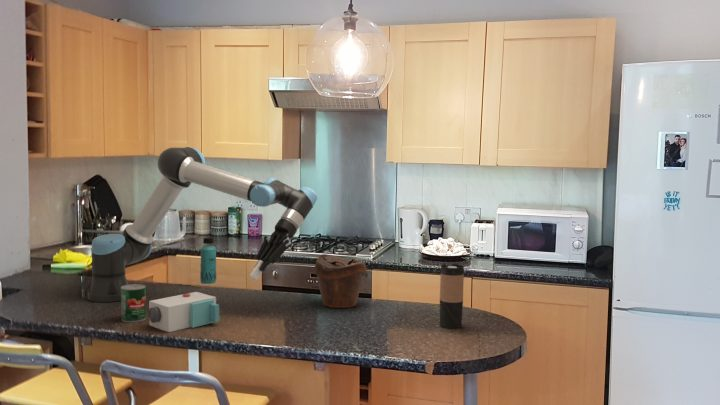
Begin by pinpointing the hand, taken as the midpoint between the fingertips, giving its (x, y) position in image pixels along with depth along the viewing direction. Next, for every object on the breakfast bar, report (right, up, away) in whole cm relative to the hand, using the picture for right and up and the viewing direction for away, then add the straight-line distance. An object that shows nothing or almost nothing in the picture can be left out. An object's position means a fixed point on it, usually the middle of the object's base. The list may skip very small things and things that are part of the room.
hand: (253, 277), depth 220 cm
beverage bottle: (-26, -9, +45) cm, 53 cm away
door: (-14, -14, -12) cm, 23 cm away
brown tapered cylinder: (+29, -12, +19) cm, 37 cm away
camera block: (-21, -14, -9) cm, 27 cm away
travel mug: (+67, -15, -7) cm, 68 cm away
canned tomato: (-39, -13, -5) cm, 42 cm away
